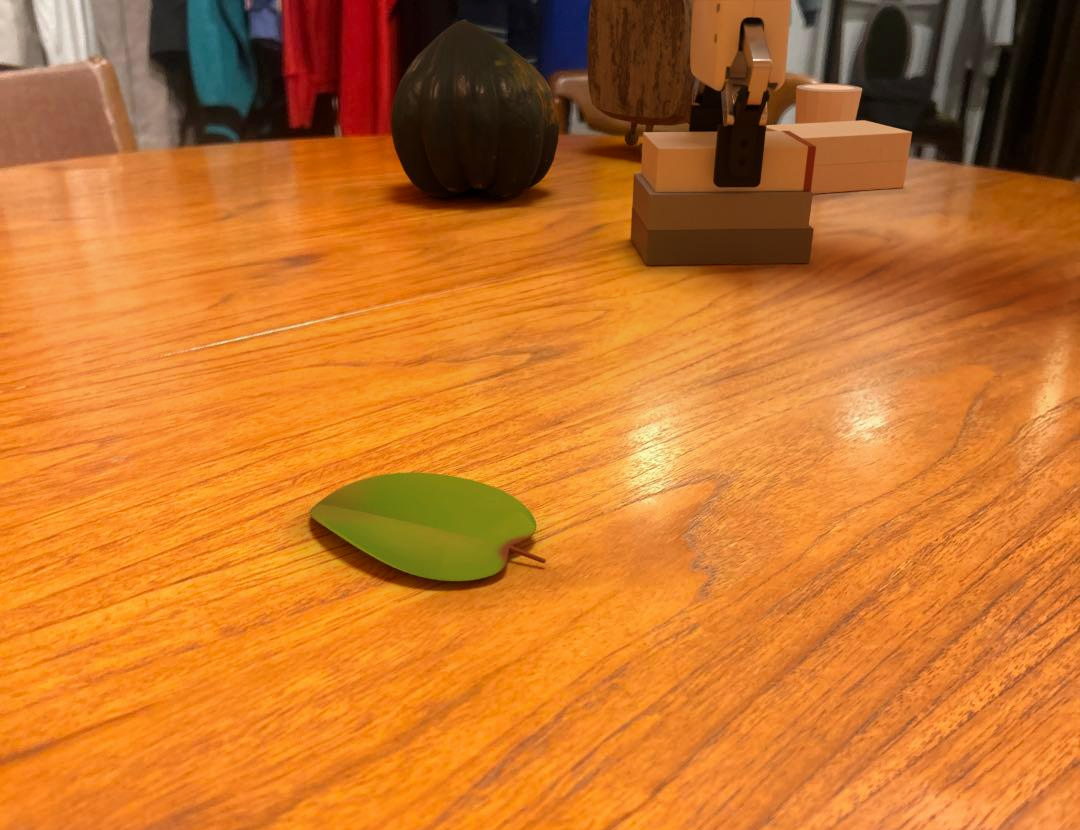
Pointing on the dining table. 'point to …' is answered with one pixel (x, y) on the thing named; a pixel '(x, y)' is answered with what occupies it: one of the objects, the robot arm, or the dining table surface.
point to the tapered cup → (826, 103)
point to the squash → (473, 117)
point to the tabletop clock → (641, 62)
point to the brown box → (720, 226)
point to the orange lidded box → (854, 154)
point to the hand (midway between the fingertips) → (721, 172)
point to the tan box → (692, 160)
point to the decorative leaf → (429, 524)
